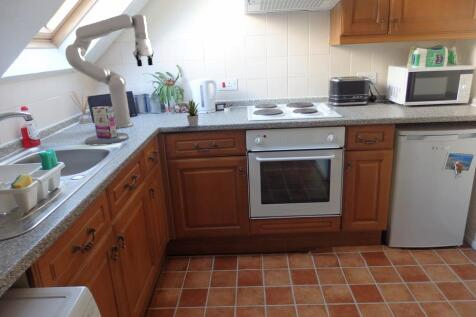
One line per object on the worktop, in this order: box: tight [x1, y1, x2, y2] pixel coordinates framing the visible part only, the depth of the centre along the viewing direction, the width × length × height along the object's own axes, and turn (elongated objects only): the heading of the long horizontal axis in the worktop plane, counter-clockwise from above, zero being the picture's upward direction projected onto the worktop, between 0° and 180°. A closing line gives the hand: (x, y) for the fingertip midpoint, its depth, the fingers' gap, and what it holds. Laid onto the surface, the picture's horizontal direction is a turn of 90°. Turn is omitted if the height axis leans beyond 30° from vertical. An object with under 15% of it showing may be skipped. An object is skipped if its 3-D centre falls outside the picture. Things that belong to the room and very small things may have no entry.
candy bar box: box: [91, 105, 118, 139], centre depth 190 cm, size 11×5×16 cm, turn 62°
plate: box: [85, 132, 130, 145], centre depth 192 cm, size 22×22×2 cm
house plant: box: [182, 99, 200, 127], centre depth 216 cm, size 14×14×16 cm
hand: (145, 65), depth 222 cm, fingers open, 9 cm apart
